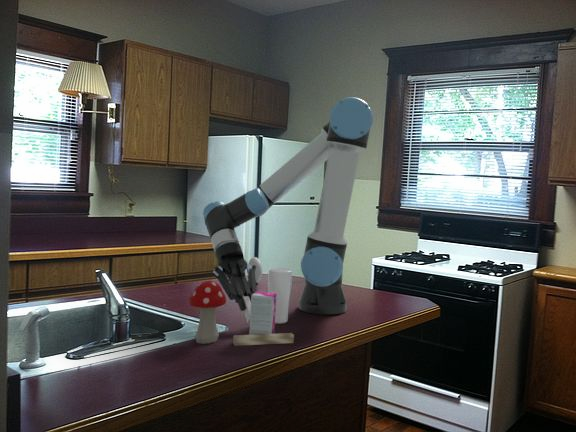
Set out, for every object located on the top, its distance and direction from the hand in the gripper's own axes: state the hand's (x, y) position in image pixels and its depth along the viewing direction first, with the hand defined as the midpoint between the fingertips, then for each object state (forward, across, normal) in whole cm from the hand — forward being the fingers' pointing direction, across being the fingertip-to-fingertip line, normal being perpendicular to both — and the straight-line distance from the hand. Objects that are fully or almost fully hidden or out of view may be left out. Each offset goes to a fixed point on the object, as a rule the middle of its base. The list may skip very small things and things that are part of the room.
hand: (251, 319), depth 150 cm
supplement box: (+6, -1, +1) cm, 6 cm away
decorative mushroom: (+4, +13, -1) cm, 14 cm away
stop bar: (+9, +1, +4) cm, 10 cm away
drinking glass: (-2, -12, -8) cm, 15 cm away
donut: (-41, -33, -46) cm, 70 cm away
